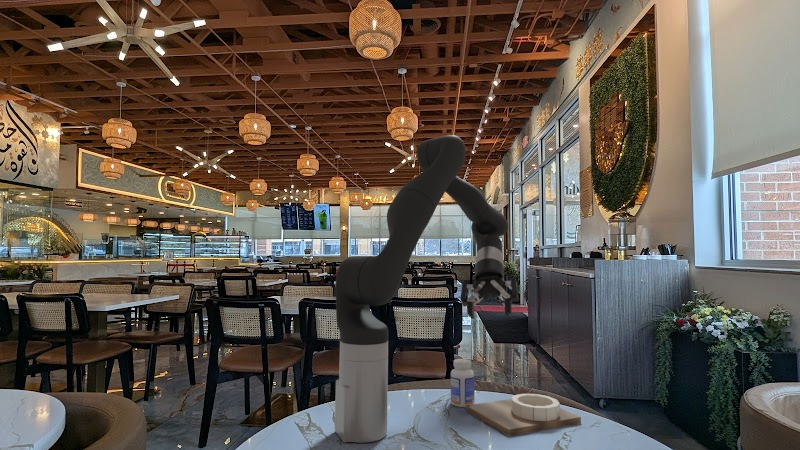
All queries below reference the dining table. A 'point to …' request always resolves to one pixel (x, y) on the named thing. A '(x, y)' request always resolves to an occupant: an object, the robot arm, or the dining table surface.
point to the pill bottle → (462, 383)
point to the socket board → (516, 418)
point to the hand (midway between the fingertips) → (489, 315)
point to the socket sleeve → (535, 407)
